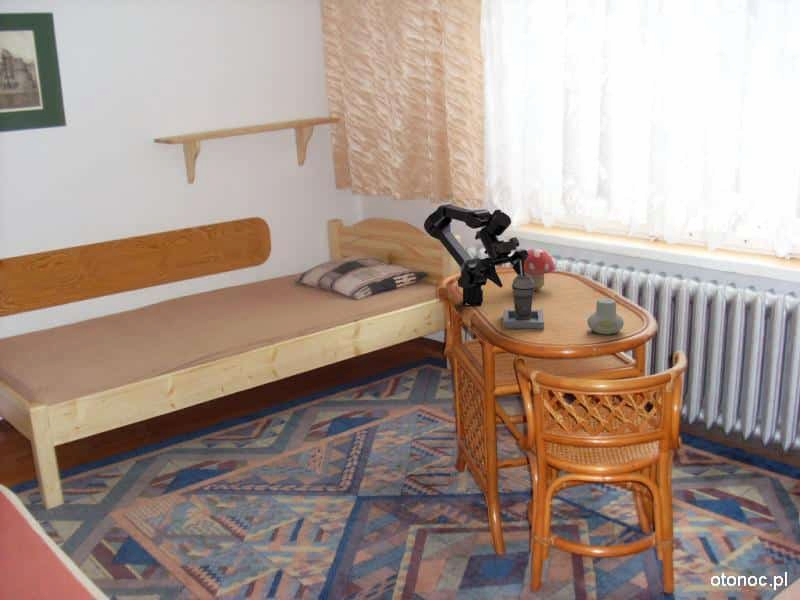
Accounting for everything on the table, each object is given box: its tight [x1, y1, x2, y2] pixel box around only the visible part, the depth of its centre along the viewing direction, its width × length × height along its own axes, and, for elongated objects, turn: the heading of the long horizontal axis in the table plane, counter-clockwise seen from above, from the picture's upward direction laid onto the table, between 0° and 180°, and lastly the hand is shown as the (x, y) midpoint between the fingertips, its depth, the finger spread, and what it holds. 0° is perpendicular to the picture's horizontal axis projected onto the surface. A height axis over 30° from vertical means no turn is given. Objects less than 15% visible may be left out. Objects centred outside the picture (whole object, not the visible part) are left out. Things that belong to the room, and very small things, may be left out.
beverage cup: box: [511, 260, 535, 320], centre depth 279 cm, size 7×7×20 cm
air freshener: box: [586, 297, 625, 335], centre depth 271 cm, size 11×8×10 cm
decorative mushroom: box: [524, 248, 555, 291], centre depth 315 cm, size 13×13×15 cm
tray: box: [502, 309, 545, 331], centre depth 282 cm, size 13×13×2 cm
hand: (513, 283), depth 284 cm, fingers open, 9 cm apart
